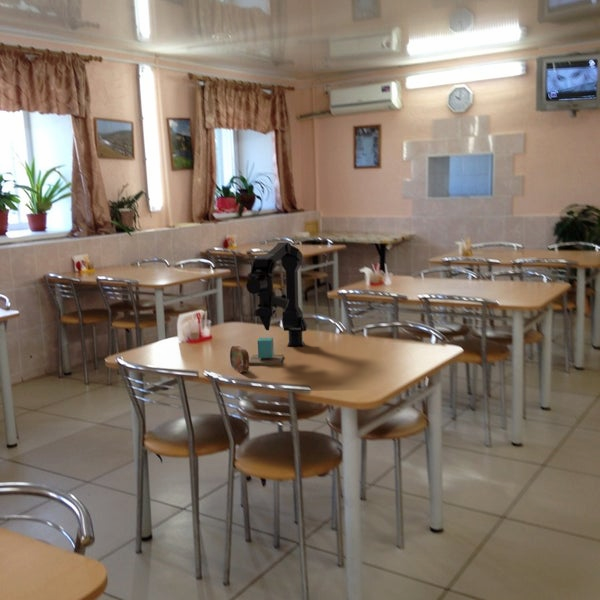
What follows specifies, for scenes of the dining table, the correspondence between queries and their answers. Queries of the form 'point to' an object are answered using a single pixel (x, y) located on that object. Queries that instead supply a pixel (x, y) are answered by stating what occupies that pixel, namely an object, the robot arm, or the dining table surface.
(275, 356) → the post stand
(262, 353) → the teal rectangular block
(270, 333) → the dining table surface
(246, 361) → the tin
